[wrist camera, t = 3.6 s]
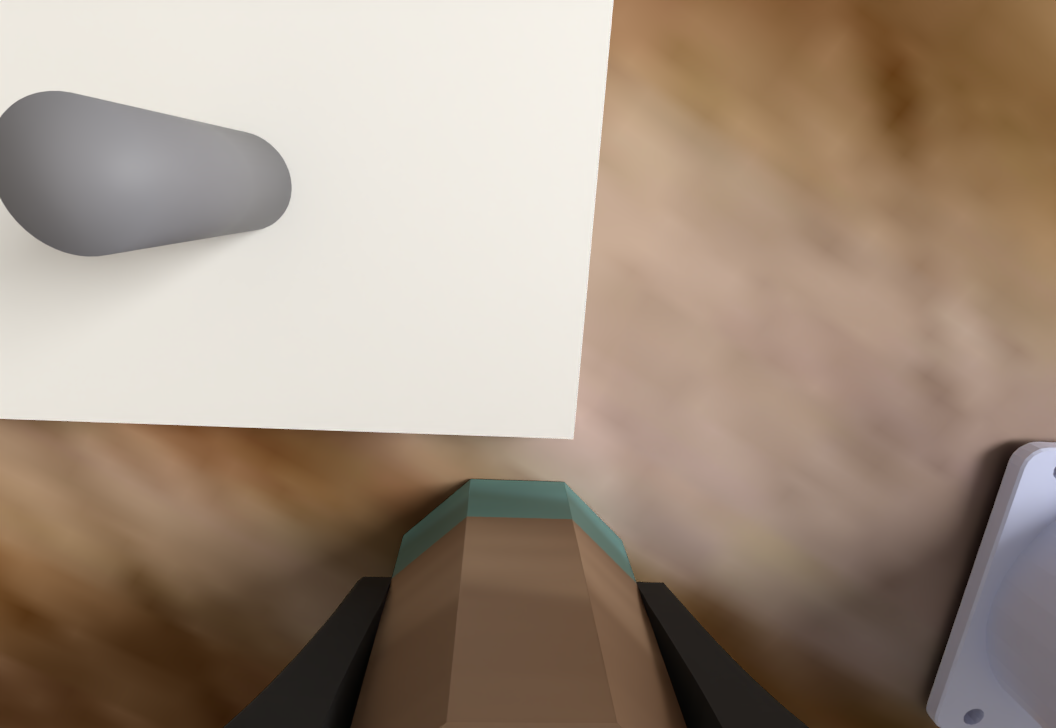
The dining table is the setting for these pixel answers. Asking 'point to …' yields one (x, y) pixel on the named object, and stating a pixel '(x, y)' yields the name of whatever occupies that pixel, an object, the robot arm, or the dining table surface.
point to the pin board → (299, 212)
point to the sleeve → (515, 621)
